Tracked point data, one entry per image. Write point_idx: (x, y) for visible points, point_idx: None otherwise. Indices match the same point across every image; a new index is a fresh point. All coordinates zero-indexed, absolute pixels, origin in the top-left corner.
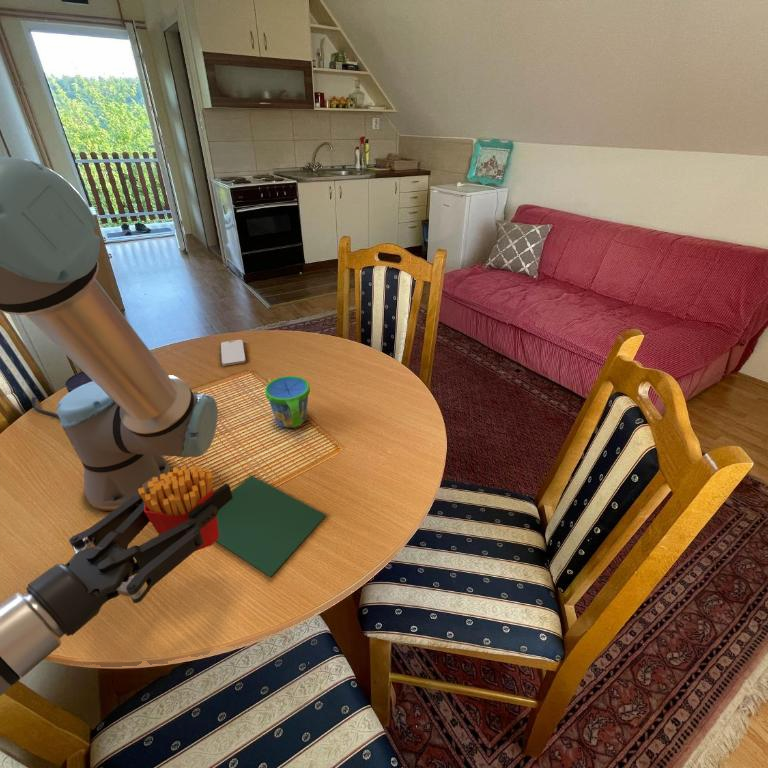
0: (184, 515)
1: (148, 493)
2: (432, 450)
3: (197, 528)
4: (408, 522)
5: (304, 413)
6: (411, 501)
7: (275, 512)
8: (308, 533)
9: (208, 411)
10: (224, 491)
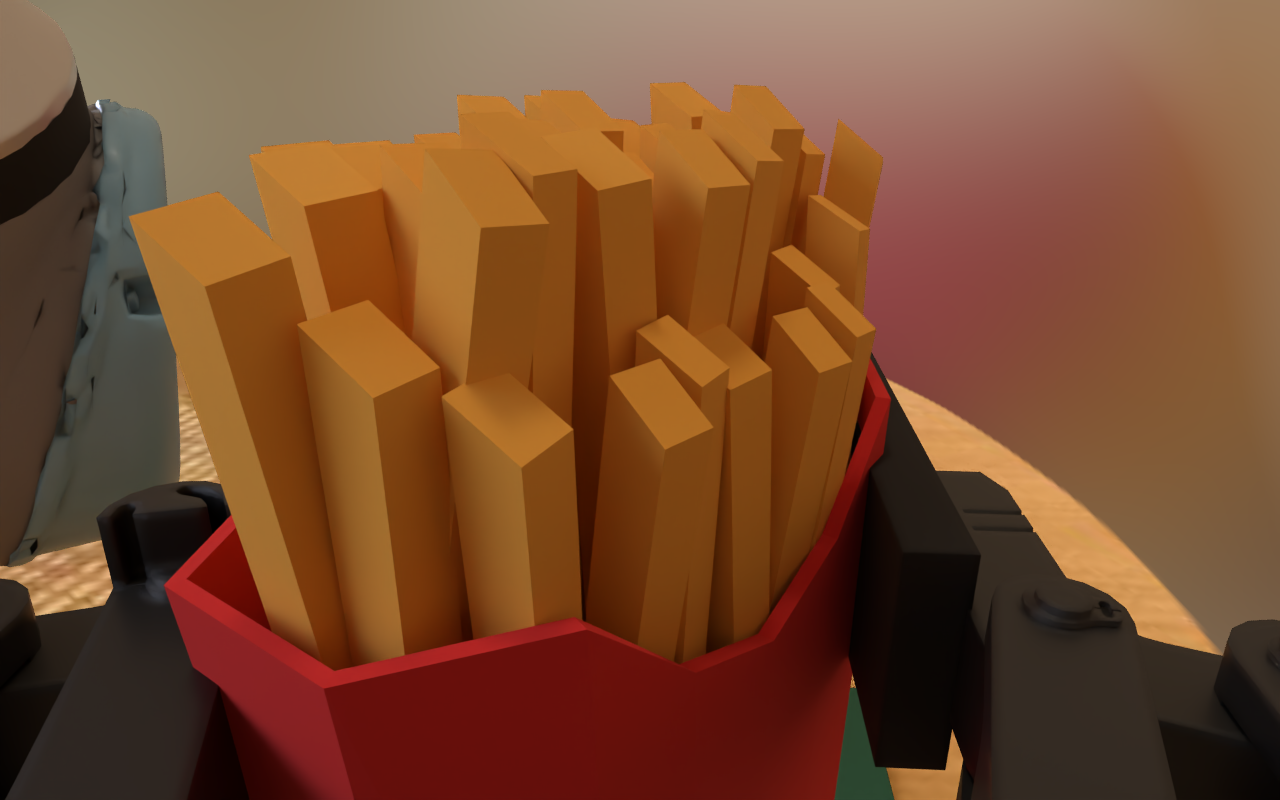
0: (778, 640)
1: (121, 533)
2: (934, 419)
3: (1261, 628)
4: (1155, 603)
5: None
6: (1071, 546)
7: None
8: (886, 786)
9: None
10: None
